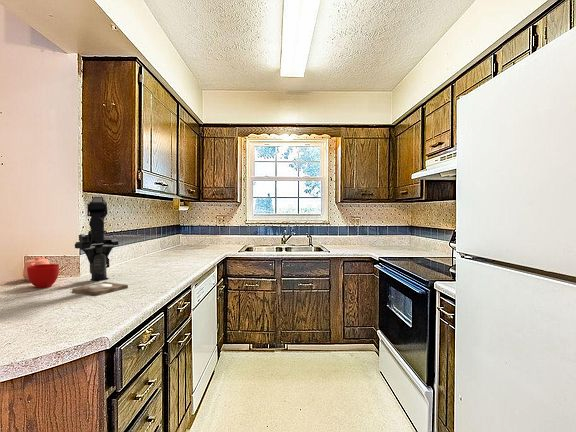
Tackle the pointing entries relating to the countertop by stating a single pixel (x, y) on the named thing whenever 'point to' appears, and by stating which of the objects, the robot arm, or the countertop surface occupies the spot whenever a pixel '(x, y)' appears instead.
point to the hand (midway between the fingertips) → (97, 262)
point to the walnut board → (99, 288)
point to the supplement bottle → (98, 261)
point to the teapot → (33, 262)
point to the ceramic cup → (43, 274)
